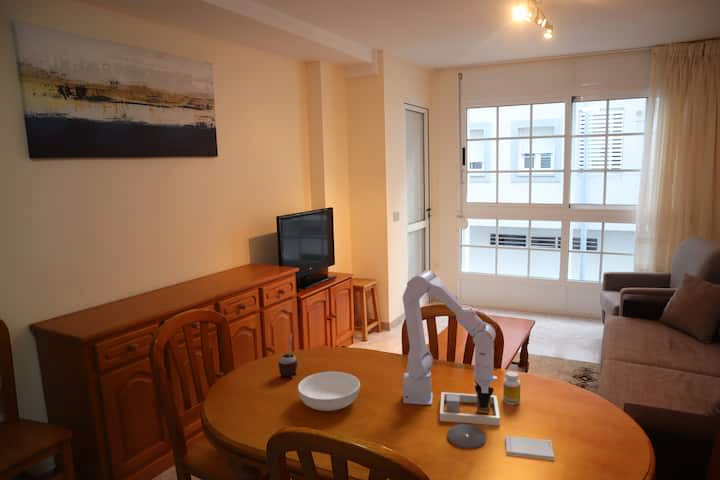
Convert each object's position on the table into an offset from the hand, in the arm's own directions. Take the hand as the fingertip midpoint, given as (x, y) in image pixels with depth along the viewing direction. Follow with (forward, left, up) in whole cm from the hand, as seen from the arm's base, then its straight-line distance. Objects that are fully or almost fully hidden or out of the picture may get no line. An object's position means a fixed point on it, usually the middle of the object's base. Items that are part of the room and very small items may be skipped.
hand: (483, 403), depth 156 cm
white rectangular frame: (-4, 0, -3) cm, 5 cm away
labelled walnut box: (0, 0, -2) cm, 2 cm away
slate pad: (-5, -15, -3) cm, 16 cm away
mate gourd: (-71, +17, -3) cm, 74 cm away
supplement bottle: (+10, +9, -3) cm, 13 cm away
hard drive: (+12, -18, -4) cm, 22 cm away
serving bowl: (-50, -1, -3) cm, 51 cm away
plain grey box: (-9, -2, -3) cm, 10 cm away
